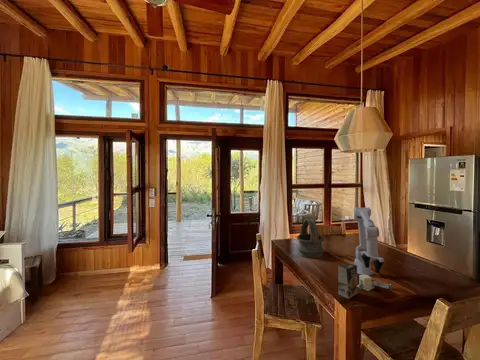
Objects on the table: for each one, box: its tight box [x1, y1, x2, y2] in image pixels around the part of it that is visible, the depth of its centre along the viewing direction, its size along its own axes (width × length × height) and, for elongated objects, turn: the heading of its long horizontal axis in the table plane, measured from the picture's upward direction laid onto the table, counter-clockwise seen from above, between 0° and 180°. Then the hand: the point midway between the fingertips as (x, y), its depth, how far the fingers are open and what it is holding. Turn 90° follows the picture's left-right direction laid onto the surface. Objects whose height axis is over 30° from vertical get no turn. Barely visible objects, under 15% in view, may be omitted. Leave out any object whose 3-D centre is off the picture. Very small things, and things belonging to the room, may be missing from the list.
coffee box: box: [337, 262, 358, 300], centre depth 134 cm, size 9×6×16 cm
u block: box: [358, 274, 373, 290], centre depth 142 cm, size 4×5×6 cm
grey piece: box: [358, 280, 394, 291], centre depth 141 cm, size 6×19×3 cm, turn 87°
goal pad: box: [357, 284, 376, 292], centre depth 142 cm, size 7×7×1 cm
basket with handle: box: [296, 218, 325, 259], centre depth 201 cm, size 22×23×30 cm
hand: (372, 270), depth 142 cm, fingers open, 7 cm apart
